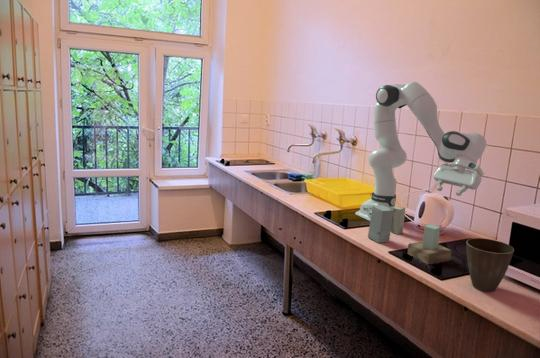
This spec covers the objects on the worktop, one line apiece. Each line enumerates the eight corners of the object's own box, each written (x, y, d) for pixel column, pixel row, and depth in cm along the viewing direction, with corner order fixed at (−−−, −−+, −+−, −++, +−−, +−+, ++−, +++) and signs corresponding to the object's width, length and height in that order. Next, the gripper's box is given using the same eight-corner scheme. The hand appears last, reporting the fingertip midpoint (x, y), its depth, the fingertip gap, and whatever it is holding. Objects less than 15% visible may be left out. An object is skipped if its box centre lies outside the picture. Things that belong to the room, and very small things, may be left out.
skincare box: (367, 237, 195) (370, 205, 192) (379, 236, 198) (382, 204, 195) (378, 243, 188) (381, 210, 184) (391, 242, 190) (394, 209, 187)
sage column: (422, 246, 173) (424, 226, 171) (427, 244, 176) (429, 224, 174) (432, 249, 170) (435, 229, 168) (437, 247, 173) (440, 227, 171)
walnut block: (407, 254, 177) (408, 243, 176) (428, 251, 182) (429, 240, 181) (427, 265, 166) (429, 254, 165) (450, 261, 171) (451, 250, 170)
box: (395, 230, 207) (397, 205, 204) (403, 232, 204) (405, 207, 201) (389, 232, 204) (392, 207, 201) (398, 234, 200) (400, 209, 198)
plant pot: (451, 280, 152) (457, 240, 149) (481, 275, 158) (487, 236, 154) (485, 300, 139) (492, 255, 135) (517, 293, 144) (524, 250, 141)
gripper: (439, 159, 189) (424, 183, 187) (482, 166, 172) (466, 193, 170) (445, 166, 192) (430, 191, 190) (487, 174, 175) (472, 201, 173)
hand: (448, 192), depth 180 cm, fingers open, 8 cm apart
